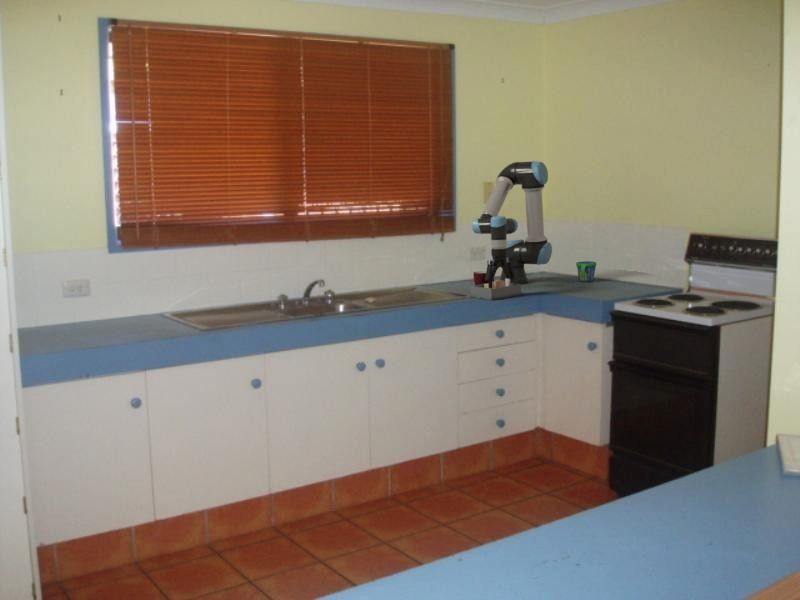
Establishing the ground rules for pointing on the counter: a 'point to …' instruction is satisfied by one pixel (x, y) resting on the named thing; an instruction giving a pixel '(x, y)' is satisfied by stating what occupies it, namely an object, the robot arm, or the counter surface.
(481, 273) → the mug
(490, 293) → the tote
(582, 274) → the snack cup
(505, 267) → the robot arm
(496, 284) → the terracotta cylinder
